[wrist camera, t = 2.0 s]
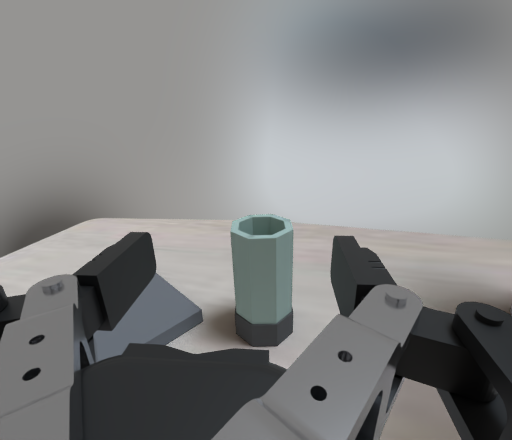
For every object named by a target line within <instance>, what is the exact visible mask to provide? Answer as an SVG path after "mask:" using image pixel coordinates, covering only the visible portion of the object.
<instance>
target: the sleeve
mask: <svg viewBox="0 0 512 440" xmlns="http://www.w3.org/2000/svg"><path fill="white" fill-rule="evenodd" d="M231 245H232V259H233V273H234V287H235V300H236V308H235V322H236V334H238V335H239V336H240V337H241V338H243V339H244V340H245V341H246V342H248V343H249V344H250V345H251V346H278V345H279V344H280V343H281V342H282V341H283V340H284V339H286V338H287V337H288V336H289V335H290V334H291V333H292V332H293V309H292V267H293V227H292V224H291V222H290V220H289V219H286V218H283V217H279V216H276V215H273V214H266V215H249V216H246V217H244V218H241V219H238V220H235V221H233V223H232V227H231Z"/></svg>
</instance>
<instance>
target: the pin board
mask: <svg viewBox="0 0 512 440" xmlns="http://www.w3.org/2000/svg"><path fill="white" fill-rule="evenodd" d="M202 321H203V316H202V309H200V308H199V307H198V306H197V305H195V304H194V303H193V302H192V301H190V300H189V299H188V298H187V297H185V296H184V295H183V294H182V293H180V292H179V291H178V290H177V289H175V288H174V287H173V286H172V285H170V284H169V283H168V282H167V281H165V280H164V279H163V278H162V277H160V276H159V275H158V274H157V273H156V272H155V275H154V277H153V279H152V280H151V281H150V283H149V284H148V285H147V287H146V288H145V289H144V290H143V292H142V293H141V294H140V296H139V297H138V298H137V299H136V301H135V302H134V303H133V305H132V306H131V307H130V308H129V310H128V311H127V312H126V314H125V315H124V316H123V317H122V319H121V320H120V321H119V323H118V324H117V325H116V327H115V328H114V329H113V330H112V331H100V330H97V331H96V332H95V333H94V336H95V339H96V346H97V355H98V361H101V360H104V359H107V358H109V357H113V356H117V355H122V354H123V352H124V351H125V349H126V348H127V346H128V344H129V343H140V344H159V345H166V344H168V343H169V342H171V341H172V340H174V339H175V338H177V337H179V336H180V335H182V334H183V333H185V332H187V331H188V330H190V329H191V328H193V327H194V326H196V325H198V324H199V323H201V322H202Z"/></svg>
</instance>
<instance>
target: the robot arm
mask: <svg viewBox="0 0 512 440" xmlns="http://www.w3.org/2000/svg"><path fill="white" fill-rule="evenodd" d="M155 272H156V260H155V255H154V249H153V243H152V238H151V235H150V234H149V233H148V232H130V233H129V234H127V235H126V236H125V237H124V238H122V239H121V240H120V241H119V242H117V243H116V244H114V245H112V246H110V247H108V248H106V249H105V250H104V251H102V252H101V253H100V254H99V255H97V256H96V257H95V258H93V259H92V261H89V262H88V263H87V264H86V265H84V266H83V267H82V268H80V269H79V270H78V271H77V272H75V273H74V274H73V275H67V274H65V275H58V276H53V277H50V278H47V279H44V280H42V281H40V282H38V283H36V284H35V285H33V286H32V287H31V288H30V289H29V290H28V291H27V293H26V294H25V295H18V296H12V297H7V296H6V294H5V292H4V289H3V287H2V286H1V285H0V440H380V437H381V434H382V431H383V428H384V425H385V423H386V421H387V418H388V416H389V414H390V411H391V409H392V407H393V405H394V402H395V400H396V398H397V396H398V393H399V391H400V389H401V387H402V384H403V382H404V380H405V378H408V379H411V380H414V381H417V382H420V383H423V384H426V385H429V386H432V387H435V388H437V391H438V393H439V395H440V397H441V399H442V401H443V403H444V405H445V407H446V409H447V411H448V413H449V415H450V417H451V419H452V421H453V423H454V425H455V427H456V429H457V431H458V433H459V435H460V437H461V439H462V440H512V306H511V310H510V313H511V315H510V314H508V313H506V312H504V311H502V310H500V309H498V308H496V307H493V306H490V305H487V304H483V303H478V302H464V303H461V304H459V305H458V306H457V308H456V312H455V314H451V313H446V312H442V311H437V310H433V309H429V308H426V307H423V303H422V301H421V299H420V298H419V297H418V296H417V295H416V294H415V293H413V292H412V291H410V290H408V289H406V288H403V287H400V286H397V284H396V283H395V281H394V280H393V278H392V277H391V275H390V274H389V272H388V271H387V269H385V266H384V265H383V263H381V260H380V259H379V257H378V256H377V254H375V253H374V252H372V251H371V250H369V249H368V248H360V246H359V245H358V243H357V241H356V240H355V238H354V236H334V239H333V249H332V260H331V283H332V286H333V290H334V293H335V297H336V300H337V304H338V307H339V310H340V314H338V315H337V316H335V317H334V319H333V320H332V321H331V322H330V323H329V324H328V325H327V326H326V327H325V329H324V330H323V331H322V332H321V333H320V334H319V335H318V336H317V337H316V338H315V340H314V341H313V342H312V343H311V344H310V345H309V346H308V347H307V348H306V350H305V351H304V352H303V353H302V354H301V355H300V356H299V357H298V358H297V360H296V361H295V362H294V363H293V364H292V365H291V366H290V367H289V368H288V369H285V368H283V367H280V366H278V365H276V364H273V363H270V362H269V350H253V349H234V348H233V349H227V350H221V351H214V352H208V353H201V354H192V353H188V352H185V351H182V350H178V349H175V348H172V347H169V346H165V345H159V344H140V343H129V344H128V346H127V348H126V349H125V351H124V352H123V354H122V355H117V356H113V357H109V358H107V359H104V360H101V361H98V355H97V346H96V339H95V336H94V333H95V332H96V331H97V330H100V331H112V330H113V329H114V328H115V327H116V325H117V324H118V323H119V321H120V320H121V319H122V317H123V316H124V315H125V314H126V312H127V311H128V310H129V308H130V307H131V306H132V305H133V303H134V302H135V301H136V299H137V298H138V297H139V296H140V294H141V293H142V292H143V290H144V289H145V288H146V287H147V285H148V284H149V283H150V281H151V280H152V279H153V277H154V275H155Z"/></svg>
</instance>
